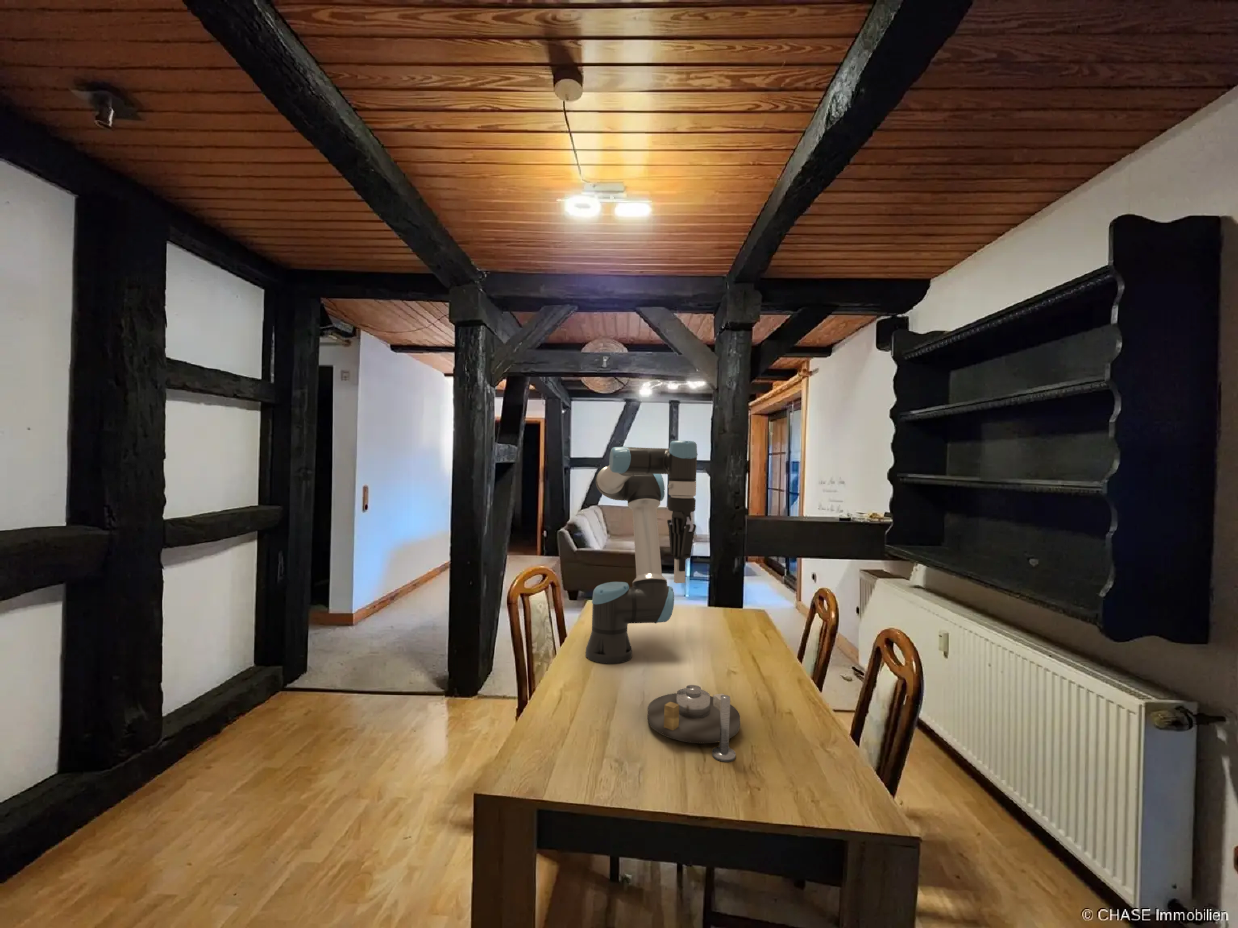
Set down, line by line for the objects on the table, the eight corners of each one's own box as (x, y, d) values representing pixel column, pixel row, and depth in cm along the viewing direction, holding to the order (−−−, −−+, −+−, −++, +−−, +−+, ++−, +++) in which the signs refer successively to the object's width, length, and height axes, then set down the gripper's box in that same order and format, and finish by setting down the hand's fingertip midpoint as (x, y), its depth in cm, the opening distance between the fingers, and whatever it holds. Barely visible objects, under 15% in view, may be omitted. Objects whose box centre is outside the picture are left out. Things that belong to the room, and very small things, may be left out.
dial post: (706, 750, 122) (708, 692, 122) (726, 747, 124) (728, 689, 124) (719, 763, 117) (721, 702, 117) (739, 759, 119) (741, 699, 119)
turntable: (628, 722, 131) (629, 692, 131) (677, 693, 149) (678, 667, 149) (712, 754, 118) (713, 721, 118) (755, 717, 135) (755, 689, 135)
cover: (670, 712, 133) (670, 688, 133) (685, 700, 139) (686, 678, 139) (700, 721, 128) (701, 697, 128) (715, 709, 135) (715, 686, 135)
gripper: (659, 495, 158) (657, 578, 158) (680, 498, 145) (677, 588, 145) (683, 495, 160) (680, 576, 160) (705, 498, 148) (703, 586, 148)
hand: (679, 582), depth 153 cm, fingers closed
